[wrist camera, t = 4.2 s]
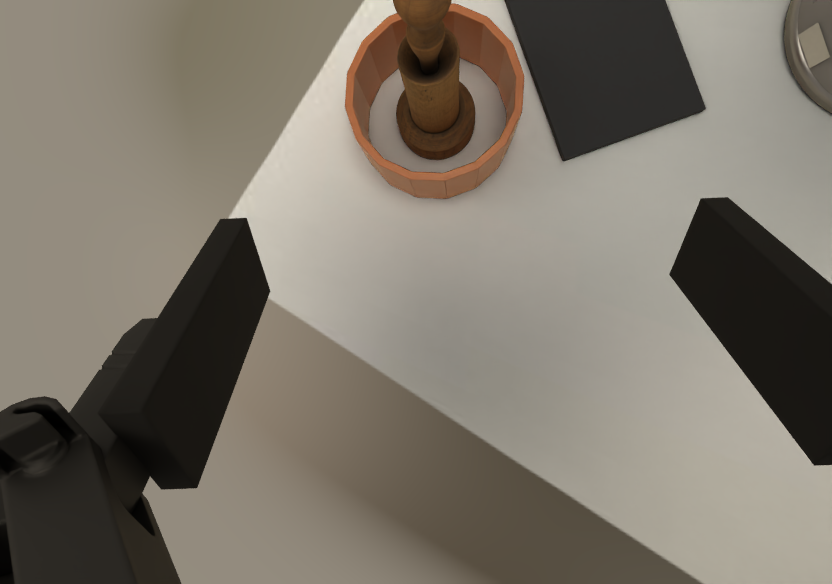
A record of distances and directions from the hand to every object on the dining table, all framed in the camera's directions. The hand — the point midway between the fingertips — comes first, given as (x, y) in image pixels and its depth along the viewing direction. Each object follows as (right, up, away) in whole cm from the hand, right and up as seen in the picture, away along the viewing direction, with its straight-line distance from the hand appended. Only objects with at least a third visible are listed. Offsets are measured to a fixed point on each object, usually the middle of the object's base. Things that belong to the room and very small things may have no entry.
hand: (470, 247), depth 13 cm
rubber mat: (+13, +21, +24) cm, 35 cm away
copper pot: (0, +13, +25) cm, 29 cm away
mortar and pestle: (0, +13, +25) cm, 29 cm away
